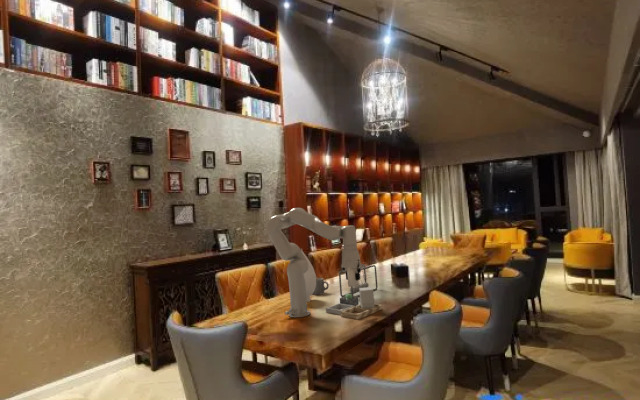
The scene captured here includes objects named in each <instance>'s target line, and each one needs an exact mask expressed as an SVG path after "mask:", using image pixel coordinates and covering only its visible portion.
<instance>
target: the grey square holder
mask: <svg viewBox="0 0 640 400" xmlns="http://www.w3.org/2000/svg"><path fill="white" fill-rule="evenodd" d="M355 296H356V295H355ZM355 296H354V295H353V296H352V298H351V299H346V296H345V297H339V303H340V304H346V305H353V306H357V305H360V304H359V303H360V302H359V297H355Z"/></svg>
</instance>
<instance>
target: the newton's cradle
mask: <svg viewBox="0 0 640 400" xmlns="http://www.w3.org/2000/svg"><path fill="white" fill-rule="evenodd" d="M362 265H363V266H364V267H363V269H362V270H361V271H362V274H363V276H360V279H361V277H363V281H364V282H363V281H361V282H359V286H357V287H349V292H348V293H345V294H343V289H342V276H341V274H342V273H345V272H344V270H343V269H342V270H340V271H339V273H338V280H339V294H340V296H341V297H340V298H342V297H345V295H346V294H352V296H354V294H356V293H358V292H359V288H367V287H370V286H369V285H370V284H369V283H368V282H367V275H368V274H367V270H368V269H371V268H374V279H375V281H374V282H375V288H372V289H373V292H375V291H377V290H378V276H377V274H378V273H377V266H376V265H374V264H373V265H372V264H371V265H369V264H367V265H366V264H365V263H364V264H363V263H362ZM361 271H360V275H361ZM355 297H358V298H360V294H357V295H355Z"/></svg>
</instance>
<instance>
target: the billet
mask: <svg viewBox="0 0 640 400" xmlns="http://www.w3.org/2000/svg"><path fill="white" fill-rule="evenodd" d="M355 273H356V272H355V269H352V268H350V267H348V268H347V276H348V280H347V285H348V286H347V287H349V288H351V287H357V286H359V283H360V280H357V281H356V278H355Z"/></svg>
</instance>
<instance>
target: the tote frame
mask: <svg viewBox="0 0 640 400" xmlns="http://www.w3.org/2000/svg"><path fill="white" fill-rule="evenodd" d="M352 307H355V306H353V305H346V304H340V302H339V303H337V304H333V305H331V306H328V307H326V308H325V313H327V314H333V315H338V316H341V312H342V311H344V310H347V309H350V308H352Z"/></svg>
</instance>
